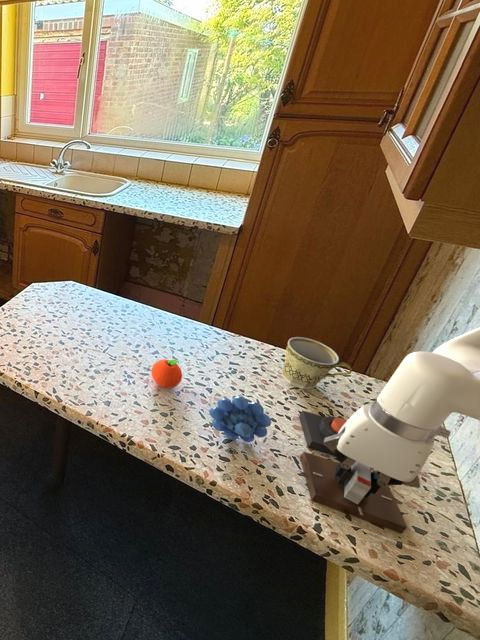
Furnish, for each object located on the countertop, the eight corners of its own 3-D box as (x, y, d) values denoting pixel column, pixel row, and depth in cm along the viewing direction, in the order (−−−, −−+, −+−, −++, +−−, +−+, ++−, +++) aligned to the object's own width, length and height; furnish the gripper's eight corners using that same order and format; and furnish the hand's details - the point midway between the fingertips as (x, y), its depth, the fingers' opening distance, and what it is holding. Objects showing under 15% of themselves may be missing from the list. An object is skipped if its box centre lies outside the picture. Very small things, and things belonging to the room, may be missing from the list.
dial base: (378, 480, 79) (384, 474, 78) (403, 538, 70) (410, 531, 69) (298, 454, 84) (302, 447, 83) (312, 504, 75) (317, 498, 74)
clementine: (162, 368, 106) (168, 347, 103) (186, 385, 101) (194, 364, 97) (142, 380, 102) (148, 359, 99) (167, 398, 97) (174, 376, 94)
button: (349, 427, 86) (353, 421, 85) (354, 440, 83) (358, 434, 82) (328, 420, 87) (331, 415, 86) (333, 433, 84) (336, 427, 83)
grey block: (345, 468, 79) (357, 451, 76) (358, 475, 78) (371, 458, 75) (343, 497, 74) (356, 480, 71) (358, 504, 73) (371, 487, 70)
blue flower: (205, 448, 85) (222, 409, 79) (198, 422, 91) (214, 384, 85) (267, 462, 82) (290, 422, 77) (256, 435, 88) (276, 396, 82)
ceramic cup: (271, 381, 102) (286, 351, 97) (276, 360, 109) (290, 331, 104) (336, 408, 95) (356, 377, 90) (337, 383, 101) (355, 353, 97)
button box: (359, 435, 88) (367, 422, 86) (374, 469, 81) (383, 456, 79) (298, 416, 92) (305, 404, 90) (307, 447, 85) (315, 435, 83)
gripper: (469, 431, 65) (410, 498, 73) (340, 381, 74) (300, 446, 83) (478, 464, 60) (413, 531, 68) (338, 405, 69) (296, 471, 78)
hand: (352, 484), depth 76 cm, fingers open, 3 cm apart
